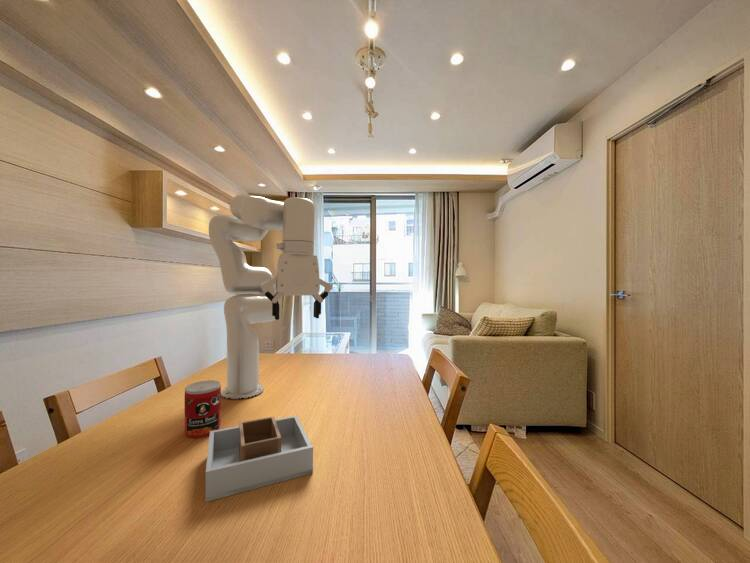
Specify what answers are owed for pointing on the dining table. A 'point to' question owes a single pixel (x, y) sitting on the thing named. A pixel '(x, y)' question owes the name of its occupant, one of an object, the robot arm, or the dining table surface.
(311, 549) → the dining table surface
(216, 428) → the canned food
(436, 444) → the dining table surface
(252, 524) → the dining table surface
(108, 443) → the dining table surface
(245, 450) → the small crate
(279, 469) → the large crate
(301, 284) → the robot arm
